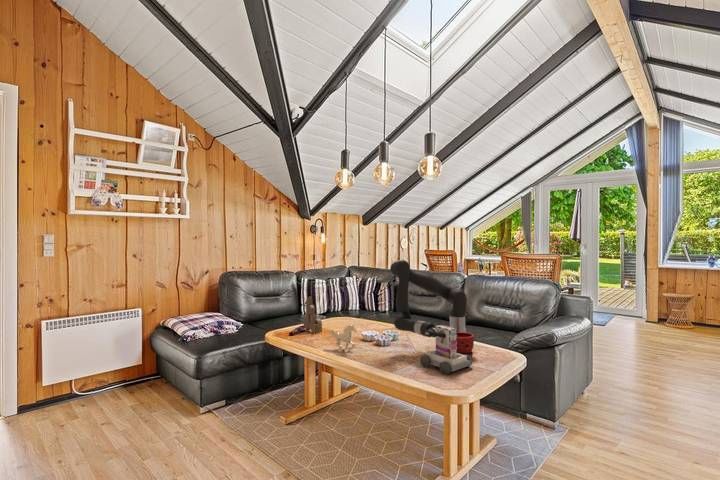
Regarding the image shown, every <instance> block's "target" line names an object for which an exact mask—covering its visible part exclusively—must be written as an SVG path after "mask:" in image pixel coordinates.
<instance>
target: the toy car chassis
mask: <svg viewBox="0 0 720 480" xmlns="http://www.w3.org/2000/svg"><path fill="white" fill-rule="evenodd" d="M424 353H425V354H423V355H421V356H420V357H419V363H420V365H421V367H423V368H429V367H430V365H432V366H435V367H438V368H439V371H440V373H442V374H443V375H450V373H451V372H455V371H458V370H460V369H463V368H468V367H471V366H472V365H473V359H472V356H471V357H470V356H469V355H467V354H465V355H462V354H458V353H457V358H455V359H448V358H445V357H442V356H439V355H436V348H435V349H432V350H428V351H425V352H424Z"/></svg>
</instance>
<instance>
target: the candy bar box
mask: <svg viewBox="0 0 720 480" xmlns="http://www.w3.org/2000/svg"><path fill="white" fill-rule="evenodd" d="M435 327H436V330H437V331H438V332H441V333H445V334H446V338H442V337H435V349H436V355H439V356H442V357H445V358H448V359H455V358H457V329H455V328H451V327H450V326H447V325H444V324H439V325H435Z"/></svg>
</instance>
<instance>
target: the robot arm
mask: <svg viewBox="0 0 720 480" xmlns="http://www.w3.org/2000/svg"><path fill="white" fill-rule="evenodd" d="M390 273H391V274H392V275H393V276H394V277H396V278H398V287H397V291H396V298H395V308H396V312H397V313H399V314H401V316H398V317H396V318H395V319H394V321H393V325H394V327H395V329H397V330H399V331H405V332H410V333H413V334H417V335H420V336H424V337H426V338H436V337H442V338H446V334H445V333H441V332H438V331H437V330H436V325H435V324H434V323H433V322H429V321H424V320H418V319H412V316H411V312H410V310H409V283H411V284H413V285H414V286H416V287H419V288H420V289H423V290H425V291H426V292H428V293H431V294H433V295H436V296H439V297H441V298H443V299H445V301H447V302H448V303H450V304H452V310H450V311H449V327H451V328H455V329H457V332H465V333H467V328H466V312H467V303H468V300H467V294H466V292H464V291H463V290H459V289H455V288H452V287H449V286H447V285H445V284H443V283H442V282H441V281H440V280H439V279H437V278H436V277H434V276H431V275H430V274H428V273H424V272H421V271H417V270H413V269H412V268H411V265H410V263H409V262H408V261H406V259H405V260H402V259H401V260H397V261H394V262H393V263H392V264H391V265H390Z"/></svg>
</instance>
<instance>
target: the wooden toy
mask: <svg viewBox="0 0 720 480" xmlns="http://www.w3.org/2000/svg"><path fill="white" fill-rule="evenodd" d="M304 305H305V316H304V317H303V321H302V323H303V326H304V327H305V328H306V329H307V330H310V329H311V330H310V331H311V334H313V333H318V334H320V333H319V332H321V333H323V321H322V319H321V318H319V317H318V318H317V314H316V307H315V305H314V304H313V296H308V297H307V299H306V300H305V301H304Z"/></svg>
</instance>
